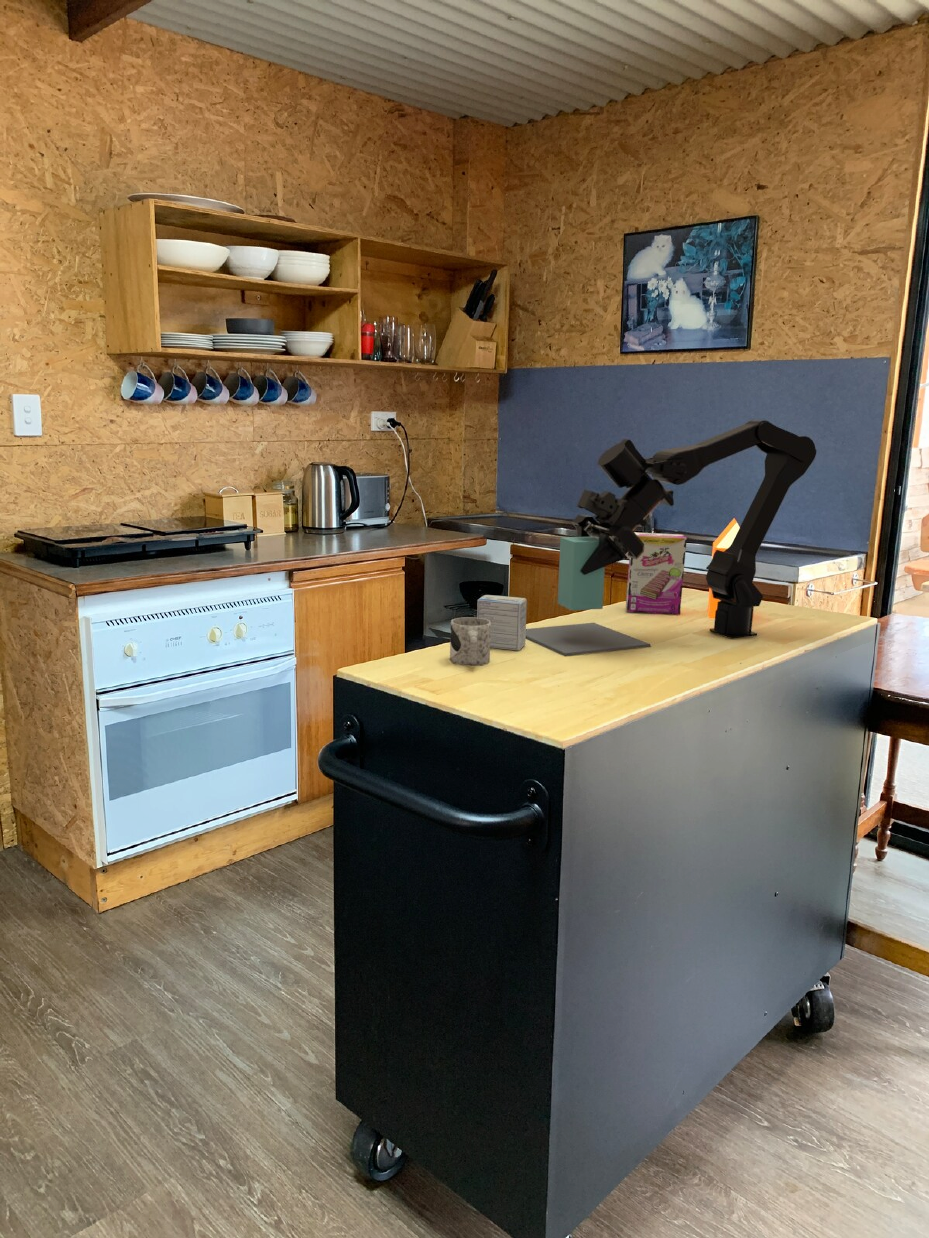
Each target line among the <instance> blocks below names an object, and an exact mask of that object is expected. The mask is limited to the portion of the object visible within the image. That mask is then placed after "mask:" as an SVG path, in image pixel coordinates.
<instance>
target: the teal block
mask: <svg viewBox="0 0 929 1238" xmlns="http://www.w3.org/2000/svg"><path fill="white" fill-rule="evenodd" d="M559 543H560V544H559V563H558V565H559V566H558V586H557V587H558V588H557V589H558V590H557V605H560V606H562V607H564V608H566V609H567V610H569V611H586V610H587V611H588V610H603V608H604V590H605V589H604V588H605V586H604V585H605V572H606V571H605V570H606V566H605V567H603V568H600V569H598V570H595V571H593V572H591V573H588V574H586V575H584V574H582V572H581V571H580V570H581V568H582V567H583V565H584V564H585V563H586V561H587V560H588V559H589V557H590V556H591V555H592V553H593V552H594V551H595V549H596V548H597V547H598V545H599V539H597V538H594V537H578V536H571V537H569V536H567V537H565V536H563V537H560V540H559Z"/></svg>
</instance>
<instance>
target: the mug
mask: <svg viewBox="0 0 929 1238" xmlns="http://www.w3.org/2000/svg"><path fill="white" fill-rule="evenodd" d="M449 636H450V638H449V640H450V643H449V661H450V663H452V664H455V665H458V666H466V667H479V666H484V665H488V664H490V662H491V648H490V639H491V621H489V620H487V619H483V618H477V617H473V616H471V617H470V616H469V617H467V616H466V617H465V616H464V617H456V618H453V619H451V620H450V635H449Z"/></svg>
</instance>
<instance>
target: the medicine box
mask: <svg viewBox="0 0 929 1238" xmlns="http://www.w3.org/2000/svg"><path fill="white" fill-rule="evenodd" d="M527 602H528V601H527V599H526V598H525V597H516V596H505V595H493V594H492V595H491V594H484V595H482V596H481V597H480V598H478V599H477V603H476V604H477V606H476V607H477V612H476V618H483V619H487V620H489V621H491V639H490V649H491V648H492V649H499V650H502V649H503V650H510V651H520V650H521V649H522V648H523V647H524V646H525V645H526V643H527V642H526V640H527V639H526V629H527V604H528V603H527Z"/></svg>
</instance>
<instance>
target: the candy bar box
mask: <svg viewBox="0 0 929 1238" xmlns="http://www.w3.org/2000/svg"><path fill="white" fill-rule="evenodd" d="M633 532H634V533H635V534H636V535H637V536H638V537H639V539H640V540H641V541H642V542H643V543H644V552H643V553H642V554H641V555H640V557H639V558H638V559H634V558H631V557H629V556H628V557H629V558H628V560H629V562H628V570H627V571H628V573H627V574H628V575H627V585H626V598H625V609H626V612H627V613H639V614H656V615H678V616H680V614H681V609H682V607H681V606H682V595H683V584H684V575H685V574H684V572H685V560H686V550H687V537H686V536H685V534H676V533H675V534H674V533H673V534H672V533H656V532H655V533H654V532H653V533H652V532H639V531H638V532H636V531H633Z"/></svg>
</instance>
